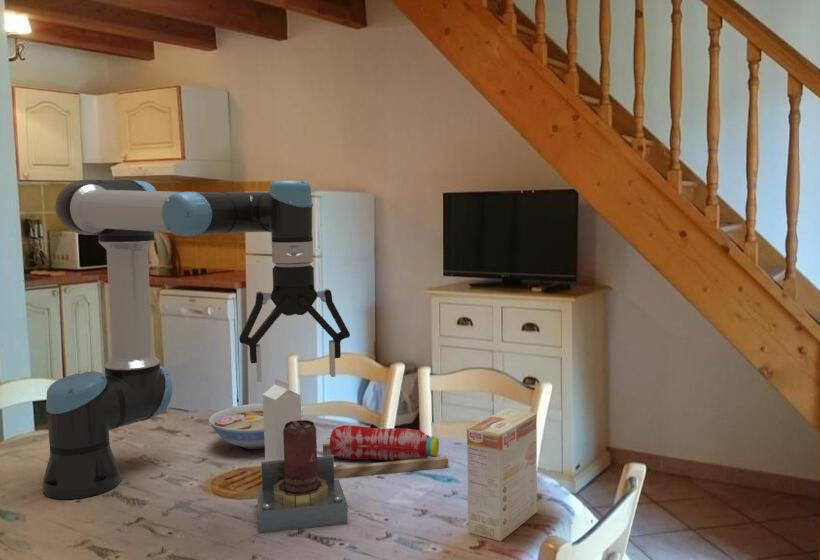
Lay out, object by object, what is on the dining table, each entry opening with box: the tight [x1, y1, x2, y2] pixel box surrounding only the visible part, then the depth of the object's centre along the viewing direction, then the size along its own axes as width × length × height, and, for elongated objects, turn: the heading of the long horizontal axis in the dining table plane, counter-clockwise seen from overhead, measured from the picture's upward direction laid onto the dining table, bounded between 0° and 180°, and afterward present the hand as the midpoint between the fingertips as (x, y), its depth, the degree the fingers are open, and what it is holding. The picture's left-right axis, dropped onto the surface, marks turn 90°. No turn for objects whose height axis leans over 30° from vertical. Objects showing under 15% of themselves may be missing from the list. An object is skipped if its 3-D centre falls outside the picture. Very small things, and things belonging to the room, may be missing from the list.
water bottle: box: [329, 423, 440, 462], centre depth 174 cm, size 12×8×25 cm
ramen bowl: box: [208, 403, 304, 450], centre depth 185 cm, size 25×23×8 cm
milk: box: [262, 377, 302, 462], centre depth 160 cm, size 6×6×22 cm
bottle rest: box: [322, 434, 449, 479], centre depth 173 cm, size 26×18×2 cm
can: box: [283, 419, 318, 494], centre depth 141 cm, size 6×6×14 cm
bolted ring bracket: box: [256, 455, 348, 534], centre depth 143 cm, size 16×12×9 cm
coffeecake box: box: [466, 407, 538, 542], centre depth 137 cm, size 15×7×20 cm, turn 145°
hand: (296, 377), depth 140 cm, fingers open, 13 cm apart
